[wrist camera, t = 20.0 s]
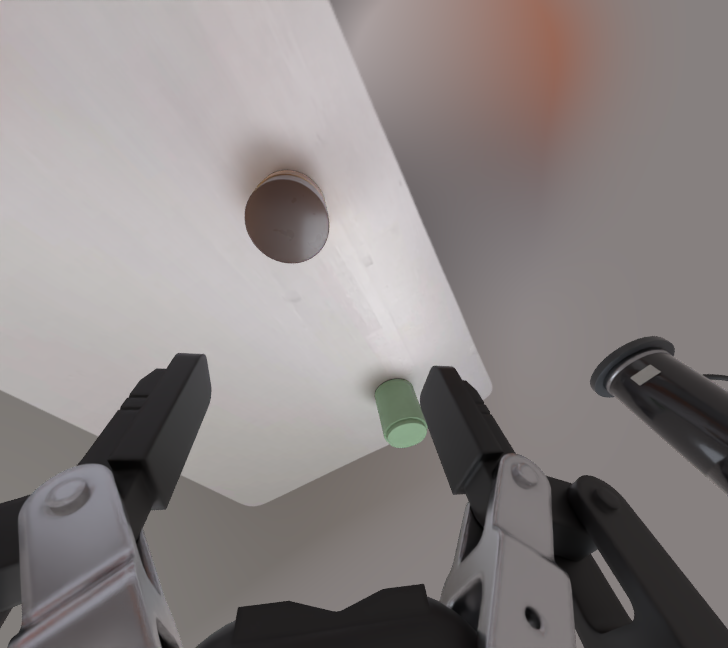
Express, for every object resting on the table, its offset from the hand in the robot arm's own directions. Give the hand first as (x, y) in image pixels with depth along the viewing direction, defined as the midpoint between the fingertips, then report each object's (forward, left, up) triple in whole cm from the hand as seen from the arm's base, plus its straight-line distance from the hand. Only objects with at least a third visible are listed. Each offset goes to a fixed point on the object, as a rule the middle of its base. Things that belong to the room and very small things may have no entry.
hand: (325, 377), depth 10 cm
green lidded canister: (-13, +21, -19) cm, 31 cm away
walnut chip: (+2, -1, -17) cm, 17 cm away
